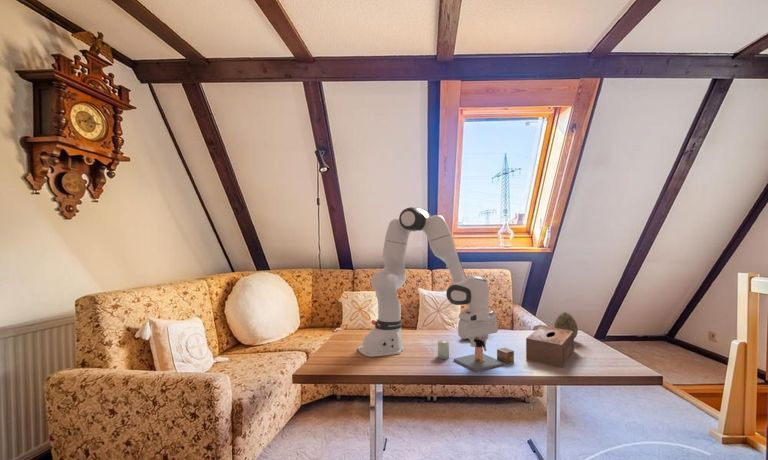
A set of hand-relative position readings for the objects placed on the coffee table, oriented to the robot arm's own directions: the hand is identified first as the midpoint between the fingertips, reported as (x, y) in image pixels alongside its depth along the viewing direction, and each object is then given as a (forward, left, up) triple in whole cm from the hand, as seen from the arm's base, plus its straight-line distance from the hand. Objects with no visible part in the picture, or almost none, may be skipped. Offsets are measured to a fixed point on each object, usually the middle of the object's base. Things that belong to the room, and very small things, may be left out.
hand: (478, 345), depth 150 cm
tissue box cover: (+36, -9, -8) cm, 38 cm away
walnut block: (+12, -4, -8) cm, 15 cm away
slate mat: (0, 0, -8) cm, 8 cm away
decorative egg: (+62, +1, -8) cm, 62 cm away
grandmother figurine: (0, 0, -7) cm, 7 cm away
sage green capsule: (-9, +13, -8) cm, 17 cm away
